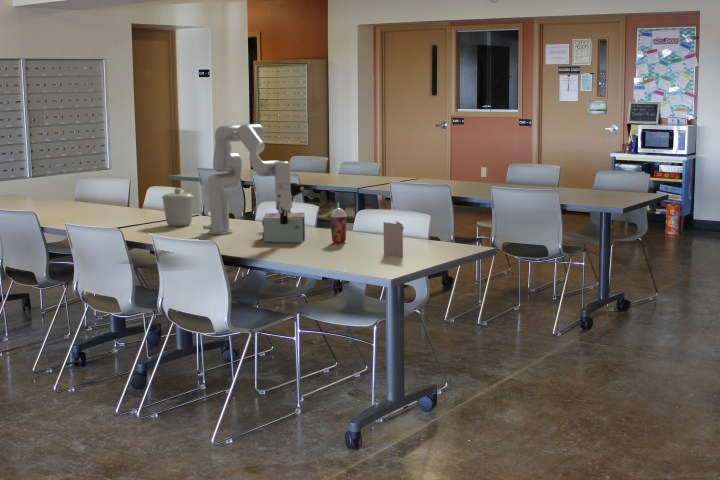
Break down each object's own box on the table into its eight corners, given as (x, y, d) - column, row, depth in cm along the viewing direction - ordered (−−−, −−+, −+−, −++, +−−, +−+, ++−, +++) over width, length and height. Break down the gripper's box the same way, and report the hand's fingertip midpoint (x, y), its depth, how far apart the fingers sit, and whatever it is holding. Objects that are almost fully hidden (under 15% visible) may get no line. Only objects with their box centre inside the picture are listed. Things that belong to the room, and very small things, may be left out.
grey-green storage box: (261, 241, 470) (260, 218, 468) (263, 241, 473) (262, 217, 471) (301, 243, 466) (300, 218, 464) (302, 242, 468) (302, 218, 466)
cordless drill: (310, 230, 508) (309, 183, 504) (300, 231, 503) (299, 184, 499) (285, 225, 525) (284, 180, 521) (274, 226, 521) (273, 181, 517)
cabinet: (264, 241, 473) (263, 217, 471) (266, 236, 489) (265, 213, 487) (304, 240, 474) (304, 216, 472) (304, 235, 490) (304, 212, 488)
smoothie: (349, 241, 469) (349, 201, 465) (344, 244, 461) (343, 204, 457) (334, 241, 471) (333, 201, 468) (328, 244, 464) (327, 203, 460)
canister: (202, 224, 534) (200, 187, 530) (180, 228, 519) (178, 190, 515) (178, 222, 544) (176, 185, 540) (155, 226, 529) (154, 188, 525)
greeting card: (404, 257, 426) (404, 224, 423) (388, 258, 424) (388, 225, 422) (398, 253, 437) (398, 220, 434) (382, 253, 435) (382, 221, 433)
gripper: (283, 188, 454) (285, 226, 457) (295, 185, 468) (296, 222, 471) (269, 188, 457) (270, 226, 460) (281, 185, 471) (283, 221, 474)
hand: (284, 223), depth 465 cm, fingers closed
